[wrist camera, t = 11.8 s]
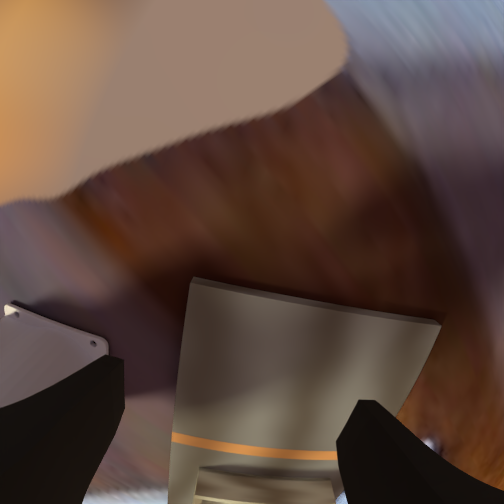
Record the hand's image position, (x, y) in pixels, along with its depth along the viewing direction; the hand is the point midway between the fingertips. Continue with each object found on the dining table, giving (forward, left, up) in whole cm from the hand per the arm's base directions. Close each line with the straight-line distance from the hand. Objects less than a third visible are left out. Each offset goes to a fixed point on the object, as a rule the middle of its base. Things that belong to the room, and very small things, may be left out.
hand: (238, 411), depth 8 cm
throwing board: (+5, -14, -9) cm, 18 cm away
